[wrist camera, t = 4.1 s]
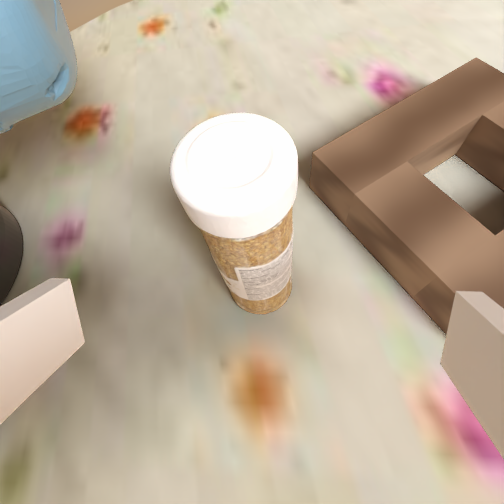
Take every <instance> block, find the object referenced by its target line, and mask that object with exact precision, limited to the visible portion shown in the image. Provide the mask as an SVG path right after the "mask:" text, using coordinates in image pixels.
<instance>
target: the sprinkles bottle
mask: <svg viewBox="0 0 504 504" xmlns="http://www.w3.org/2000/svg"><path fill="white" fill-rule="evenodd" d="M170 178H171V182H172V186H173V188H174V191H175V193H176V195H177V197H178V199H179V201H180V203H181V204H182V206H183V208H184V210H185V212H186V214H187V215H188V217H189V218H190V219H191V221H192V222H193V223H194V224H195V225H196V226H198V227H199V228H200V230H201V232H202V234H203V237H204V238H205V241H206V243H207V245H208V247H209V250H210V252H211V255H212V257H213V259H214V261H215V263H216V265H217V267H218V269H219V271H220V273H221V275H222V277H223V279H224V281H225V283H226V284H227V286H228V287H229V289H230V292H231V295H232V298H233V299H234V301H235V302H236V304H237V305H238V306H239V307H241V308H242V309H244V310H245V311H247V312H251V313H254V314H267V313H270V312H273V311H275V310H277V309H279V308H280V307H281V306H282V305H283V304H284V303H285V302H286V301H287V299H288V297H289V295H290V292H291V288H292V280H291V269H292V249H293V222H292V205H293V203H294V200H295V197H296V194H297V186H298V154H297V150H296V147H295V144H294V142H293V140H292V138H291V137H290V135H289V134H288V133H287V131H286V130H285V129H284V128H283V127H282V126H280V125H279V124H277V123H276V122H274V121H273V120H271V119H269V118H266V117H264V116H260V115H257V114H251V113H229V114H223V115H219V116H216V117H213V118H210V119H208V120H206V121H204V122H202V123H200V124H198V125H197V126H195V127H194V128H192V129H191V130H190V131H189V132H188V133H187V134H186V135H185V136H184V137H183V138H182V139H181V140H180V142H179V143H178V145H177V146H176V148H175V150H174V152H173V155H172V158H171V162H170Z"/></svg>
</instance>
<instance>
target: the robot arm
mask: <svg viewBox="0 0 504 504" xmlns="http://www.w3.org/2000/svg"><path fill="white" fill-rule="evenodd" d="M76 80H77V61H76V55H75V50H74V46H73V42H72V38H71V35H70V32H69V29H68V25H67V22H66V19H65V16H64V13H63V10H62V7H61V5H60V2H59V0H0V134H1V133H5V132H7V131H9V130H10V129H11V128H12V127H13V125H14V124H15V123H17V122H19V121H21V120H23V119H26V118H28V117H30V116H33V115H35V114H38V113H40V112H43V111H45V110H47V109H50V108H52V107H55V106H57V105H59V104H61V103H62V102H64V101H65V100H66V99H67V98H68V97H69V96H70V95H71V93H72V91H73V89H74V87H75V84H76ZM22 247H23V243H22V234H21V230H20V227H19V224H18V223H17V221H16V219H15V218H14V216H13V215H12V214H11V213H10V212H9V211H8V210H7V209H5V208H4V207H3V206H1V205H0V305H1V303H2V302H3V300H4V299H5V297H6V295H7V294H8V292H9V290H10V288H11V286H12V284H13V282H14V280H15V278H16V275H17V272H18V269H19V266H20V262H21V257H22ZM84 343H85V340H84V336H83V332H82V327H81V323H80V319H79V315H78V311H77V306H76V302H75V298H74V294H73V289H72V285H71V281H70V279H68V278H50V279H48V280H46V281H44V282H43V283H41V284H39V285H37V286H36V287H34V288H32V289H30V290H28V291H27V292H25V293H23V294H21V295H20V296H18V297H16V298H14V299H13V300H11V301H9V302H7V303H5V304H4V305H2V306H0V424H1V423H2V422H4V421H5V420H6V419H7V418H8V417H9V416H10V415H11V414H12V413H13V412H14V411H15V410H16V409H17V408H18V407H19V406H20V405H21V404H22V403H23V402H24V401H25V400H26V399H27V398H28V397H29V396H30V395H31V394H32V393H33V392H35V391H36V390H37V389H38V388H39V387H40V386H41V385H42V384H43V383H44V382H45V381H46V380H47V379H48V378H49V377H50V376H51V375H52V374H53V373H54V372H55V371H56V370H57V369H58V368H59V367H60V366H61V365H62V364H63V363H64V362H65V361H67V360H68V359H69V358H70V357H71V356H72V355H73V354H74V353H75V352H76V351H77V350H78V349H79V348H80V347H81V346H82V345H83V344H84ZM440 364H441V365H442V367H443V368H444V370H445V371H446V373H447V374H448V376H449V377H450V379H451V380H452V382H453V384H454V385H455V387H456V388H457V390H458V391H459V393H460V394H461V396H462V397H463V399H464V400H465V402H466V403H467V405H468V406H469V408H470V409H471V411H472V412H473V414H474V415H475V417H476V418H477V420H478V421H479V423H480V424H481V426H482V427H483V429H484V430H485V432H486V433H487V435H488V436H489V438H490V439H491V441H492V442H493V444H494V445H495V447H496V448H497V450H498V451H499V453H500V454H501V456H502V457H503V459H504V309H503V308H502V307H501V306H500V305H498V304H497V303H496V302H495V301H493V300H492V299H491V298H490V297H488V296H487V295H486V294H485V293H483V292H474V291H456V293H455V297H454V302H453V307H452V311H451V316H450V321H449V325H448V330H447V335H446V339H445V344H444V349H443V353H442V358H441V363H440Z"/></svg>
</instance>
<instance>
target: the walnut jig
mask: <svg viewBox="0 0 504 504" xmlns="http://www.w3.org/2000/svg"><path fill="white" fill-rule="evenodd" d="M454 155H457V156H458V157H459V158H460V159H462V160H463V161H464V162H466V163H467V164H468V165H470V166H471V167H472V168H474V169H475V170H476V171H478V172H479V173H480V174H482V175H483V176H484V177H485V178H487V179H488V180H489V181H491V182H492V183H493V184H495V185H496V186H497V187H499V188H500V189H501V190H503V191H504V73H502V72H500V71H499V70H497V69H495V68H494V67H492V66H490V65H488V64H487V63H485V62H483V61H481V60H480V59H478V58H474V59H473V60H471V61H469V62H468V63H466V64H464V65H462V66H461V67H459V68H457V69H455V70H454V71H452V72H450V73H449V74H447V75H445V76H443V77H442V78H440V79H438V80H437V81H435V82H433V83H431V84H430V85H428V86H426V87H424V88H423V89H421V90H419V91H418V92H416V93H414V94H412V95H411V96H409V97H407V98H405V99H404V100H402V101H400V102H399V103H397V104H395V105H393V106H392V107H390V108H388V109H387V110H385V111H383V112H381V113H380V114H378V115H376V116H374V117H373V118H371V119H369V120H368V121H366V122H364V123H362V124H361V125H359V126H357V127H356V128H354V129H352V130H350V131H349V132H347V133H345V134H343V135H342V136H340V137H338V138H337V139H335V140H333V141H331V142H330V143H328V144H326V145H325V146H323V147H321V148H319V149H318V150H316V151H314V152H313V153H312V163H311V173H310V184H309V187H310V188H311V189H312V190H313V192H314V193H315V194H316V195H317V196H318V197H319V198H320V199H321V200H322V201H323V202H324V203H325V204H326V205H327V207H328V208H329V209H330V210H331V211H332V212H333V213H334V214H335V215H336V216H337V217H338V218H339V219H340V221H341V222H342V223H343V224H344V225H345V226H346V227H347V228H348V229H349V230H350V231H351V232H352V233H353V235H354V236H355V237H356V238H357V239H358V240H359V241H360V242H361V243H362V244H363V245H364V246H365V247H366V248H367V250H368V251H369V252H370V253H371V254H372V255H373V256H374V257H375V258H376V259H377V260H378V261H379V262H380V264H381V265H382V266H383V267H384V268H385V269H386V270H387V271H388V272H389V273H390V274H391V275H392V276H393V277H394V279H395V280H396V281H397V282H398V283H399V284H400V285H401V286H402V287H403V288H404V289H405V290H406V291H407V293H408V294H409V295H410V296H411V297H412V298H413V299H414V300H415V301H416V302H417V303H418V304H419V305H420V307H421V308H422V309H423V310H424V311H425V312H426V313H427V314H428V315H429V316H430V317H431V318H432V319H433V320H434V322H435V323H436V324H437V325H438V326H439V327H440V328H441V329H442V330H443V331H444V332H445V333H446V334H447V330H448V325H449V321H450V316H451V311H452V307H453V302H454V297H455V293H456V291H474V292H483V293H485V294H486V295H487V296H488V297H490V298H491V299H492V300H493V301H495V302H496V303H497V304H498V305H500V306H501V307H502V308H503V309H504V230H502V231H501V232H499V233H498V234H497V235H494V234H493V233H492V232H491V231H489V230H488V229H487V228H486V227H485V226H483V225H482V224H481V223H480V222H479V221H477V220H476V219H475V218H474V217H473V216H471V215H470V214H469V213H468V212H467V211H466V210H464V209H463V208H462V207H461V206H460V205H458V204H457V203H456V202H455V201H454V200H452V199H451V198H450V197H449V196H448V195H446V194H445V193H444V192H443V191H442V190H440V189H439V188H438V187H437V186H436V185H435V184H433V183H432V182H431V181H430V180H429V179H427V178H426V177H425V176H424V174H425V173H427V172H429V171H430V170H432V169H433V168H435V167H436V166H438V165H440V164H441V163H443V162H444V161H446V160H447V159H449V158H451V157H452V156H454Z"/></svg>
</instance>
